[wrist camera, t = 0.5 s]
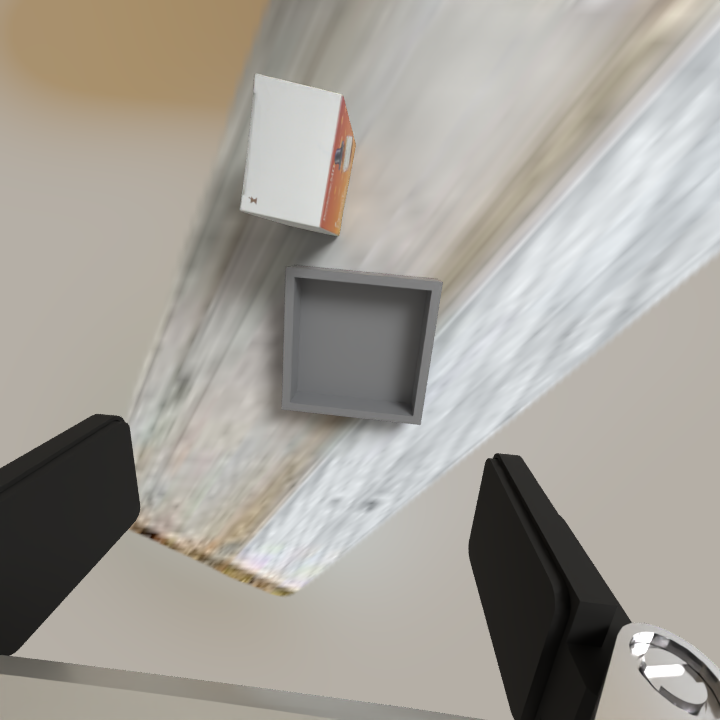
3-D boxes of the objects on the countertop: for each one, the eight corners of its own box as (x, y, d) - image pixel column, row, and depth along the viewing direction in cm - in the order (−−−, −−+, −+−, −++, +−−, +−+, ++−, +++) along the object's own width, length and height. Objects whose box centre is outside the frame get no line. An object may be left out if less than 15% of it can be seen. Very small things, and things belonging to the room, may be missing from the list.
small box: (339, 237, 34) (320, 232, 24) (281, 224, 34) (237, 213, 24) (357, 142, 31) (345, 91, 21) (295, 127, 31) (252, 69, 21)
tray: (295, 265, 35) (285, 266, 31) (437, 279, 34) (442, 282, 31) (290, 395, 39) (281, 409, 35) (417, 409, 38) (420, 424, 35)
